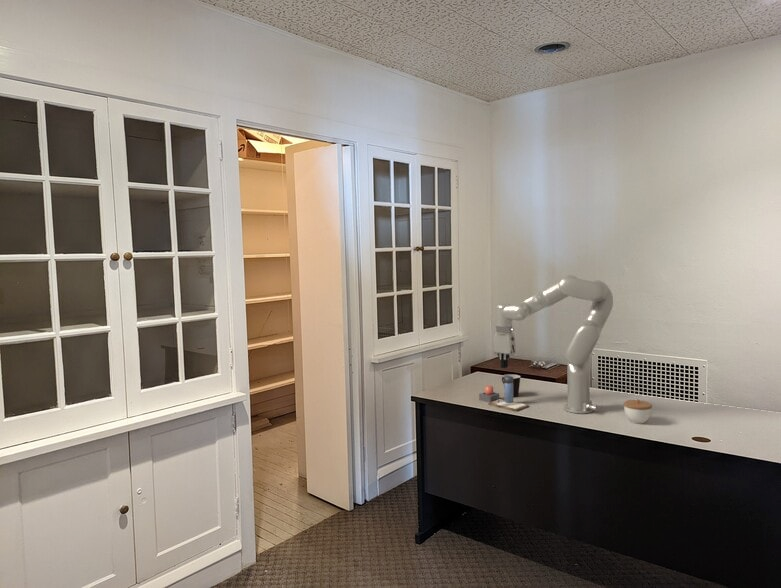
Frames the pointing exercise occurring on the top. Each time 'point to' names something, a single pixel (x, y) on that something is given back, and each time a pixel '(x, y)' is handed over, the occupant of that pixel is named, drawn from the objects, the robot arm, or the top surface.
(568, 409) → the robot arm
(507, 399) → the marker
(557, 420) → the top surface
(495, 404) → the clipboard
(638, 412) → the lidded jar
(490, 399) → the button housing
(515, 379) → the coffee mug
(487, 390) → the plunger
